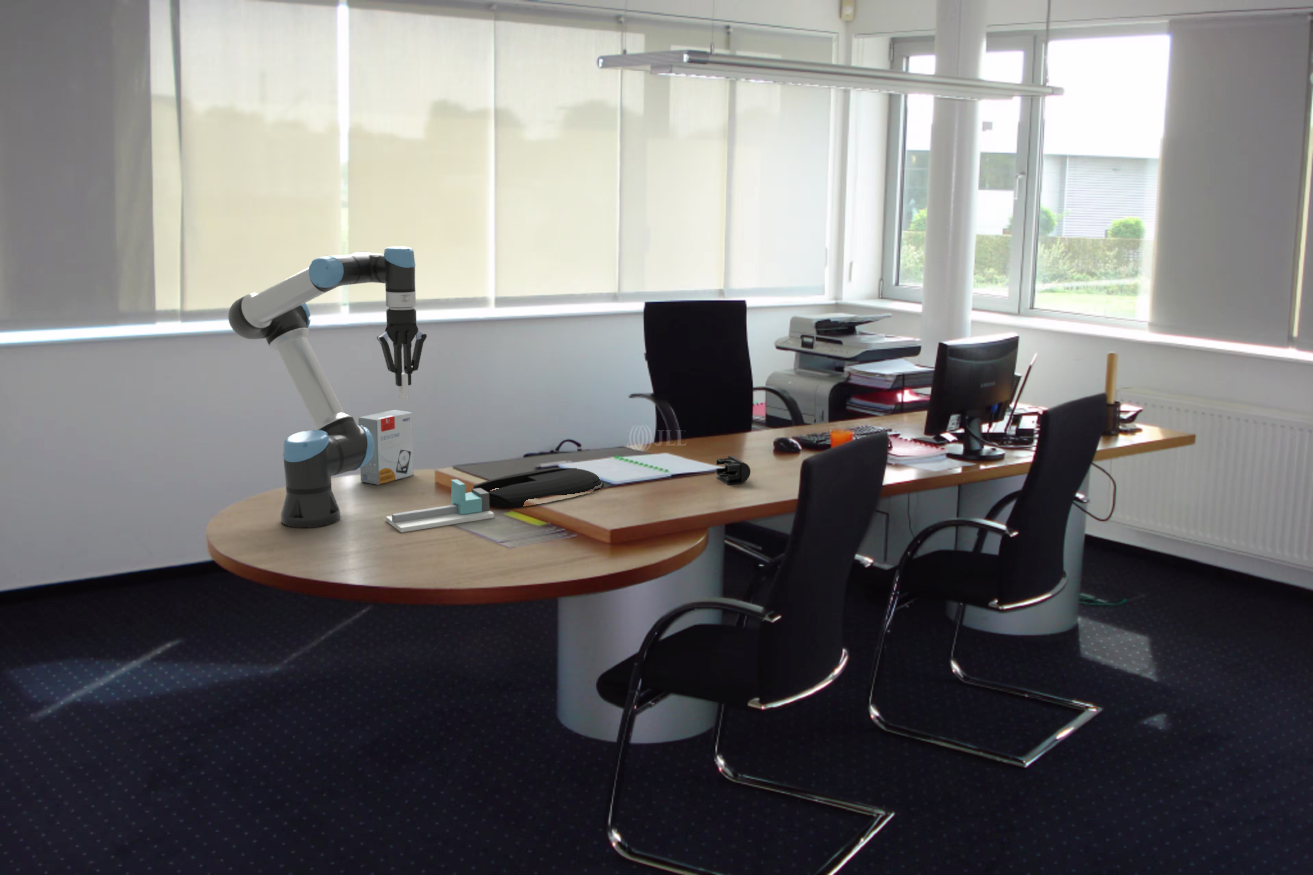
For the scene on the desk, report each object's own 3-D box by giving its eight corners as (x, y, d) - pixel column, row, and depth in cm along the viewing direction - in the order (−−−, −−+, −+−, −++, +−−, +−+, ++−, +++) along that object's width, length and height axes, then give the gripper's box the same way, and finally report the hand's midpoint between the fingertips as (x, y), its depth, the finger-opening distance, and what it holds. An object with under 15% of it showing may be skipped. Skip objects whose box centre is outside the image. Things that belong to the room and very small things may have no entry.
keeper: (461, 514, 317) (460, 485, 315) (451, 508, 323) (450, 479, 321) (482, 511, 320) (481, 482, 318) (471, 505, 326) (470, 476, 324)
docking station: (621, 490, 349) (621, 473, 348) (502, 514, 325) (502, 496, 324) (573, 473, 368) (573, 457, 367) (457, 494, 344) (457, 478, 343)
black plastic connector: (750, 483, 355) (751, 462, 354) (728, 485, 353) (729, 463, 351) (736, 476, 364) (737, 454, 363) (715, 478, 362) (715, 456, 360)
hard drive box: (378, 486, 352) (375, 420, 347) (360, 482, 356) (356, 417, 351) (415, 474, 365) (412, 411, 360) (396, 471, 369) (393, 408, 364)
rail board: (401, 532, 307) (400, 509, 305) (386, 520, 317) (384, 498, 315) (494, 517, 320) (493, 495, 318) (476, 507, 330) (476, 485, 328)
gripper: (381, 310, 298) (384, 402, 303) (430, 308, 305) (432, 398, 310) (371, 307, 304) (374, 397, 309) (419, 305, 311) (422, 393, 316)
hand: (403, 397), depth 310 cm, fingers closed
